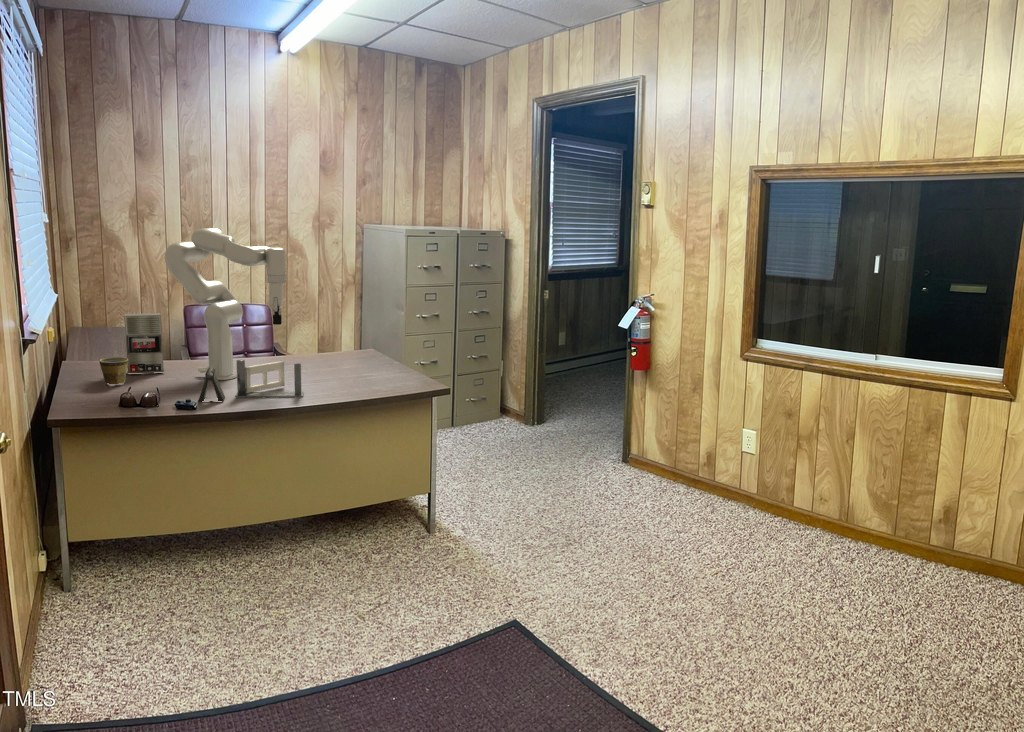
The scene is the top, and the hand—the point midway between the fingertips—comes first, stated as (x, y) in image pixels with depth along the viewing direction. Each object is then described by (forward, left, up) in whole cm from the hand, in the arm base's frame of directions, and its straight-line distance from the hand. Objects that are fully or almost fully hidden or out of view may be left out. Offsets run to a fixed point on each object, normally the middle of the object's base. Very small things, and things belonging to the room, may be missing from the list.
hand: (277, 324), depth 311 cm
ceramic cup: (-63, +1, -25) cm, 68 cm away
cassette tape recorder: (-55, +19, -25) cm, 63 cm away
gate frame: (-2, -19, -25) cm, 31 cm away
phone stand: (-22, -25, -25) cm, 42 cm away
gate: (-4, -12, -24) cm, 27 cm away
